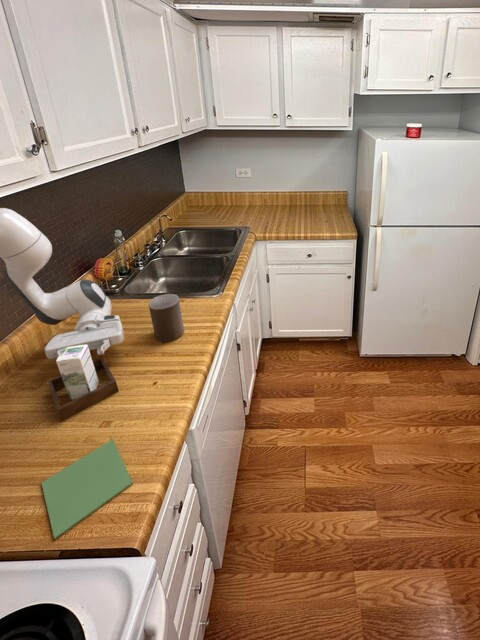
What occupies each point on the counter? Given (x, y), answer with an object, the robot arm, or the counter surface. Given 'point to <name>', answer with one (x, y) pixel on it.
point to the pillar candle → (166, 317)
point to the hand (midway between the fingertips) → (81, 357)
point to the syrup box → (77, 371)
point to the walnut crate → (88, 398)
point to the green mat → (84, 487)
